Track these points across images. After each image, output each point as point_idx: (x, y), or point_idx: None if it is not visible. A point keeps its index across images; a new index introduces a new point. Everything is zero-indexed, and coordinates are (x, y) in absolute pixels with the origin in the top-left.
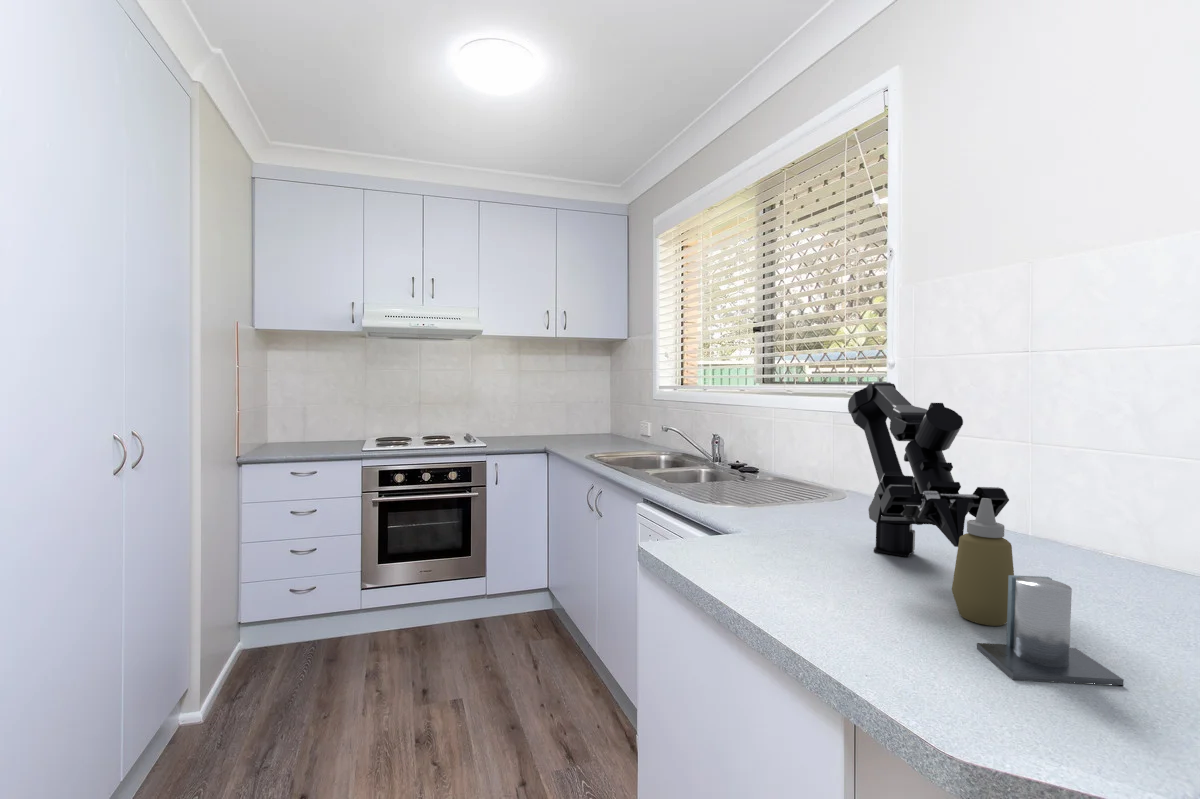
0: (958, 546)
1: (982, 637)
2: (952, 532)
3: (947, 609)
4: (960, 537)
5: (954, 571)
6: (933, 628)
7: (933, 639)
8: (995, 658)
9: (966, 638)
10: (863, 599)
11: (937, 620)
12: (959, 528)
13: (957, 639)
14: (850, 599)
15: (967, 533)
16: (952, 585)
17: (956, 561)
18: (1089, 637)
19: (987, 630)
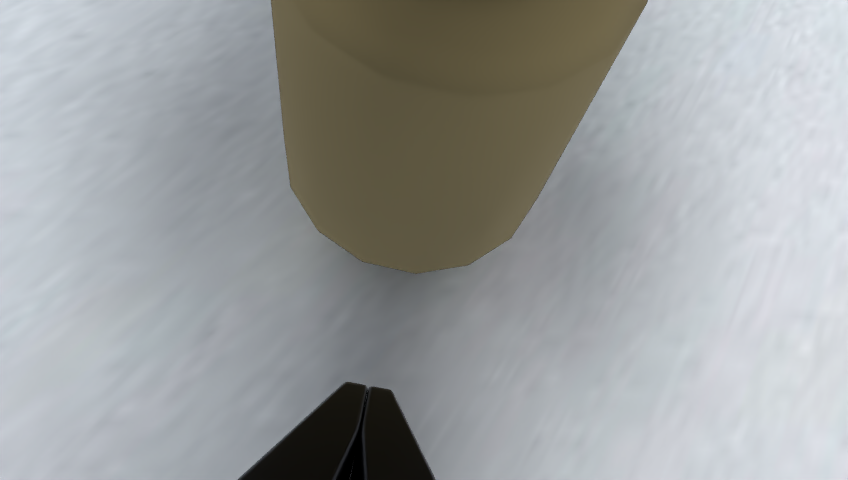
0: (606, 71)
1: None
2: (416, 449)
3: (483, 291)
4: (626, 21)
5: (537, 191)
6: (636, 137)
7: (676, 69)
8: None
9: None
10: (787, 424)
11: (586, 195)
12: (322, 459)
13: None
14: (841, 427)
15: (553, 16)
16: (524, 216)
17: (583, 115)
18: (142, 20)
19: None
